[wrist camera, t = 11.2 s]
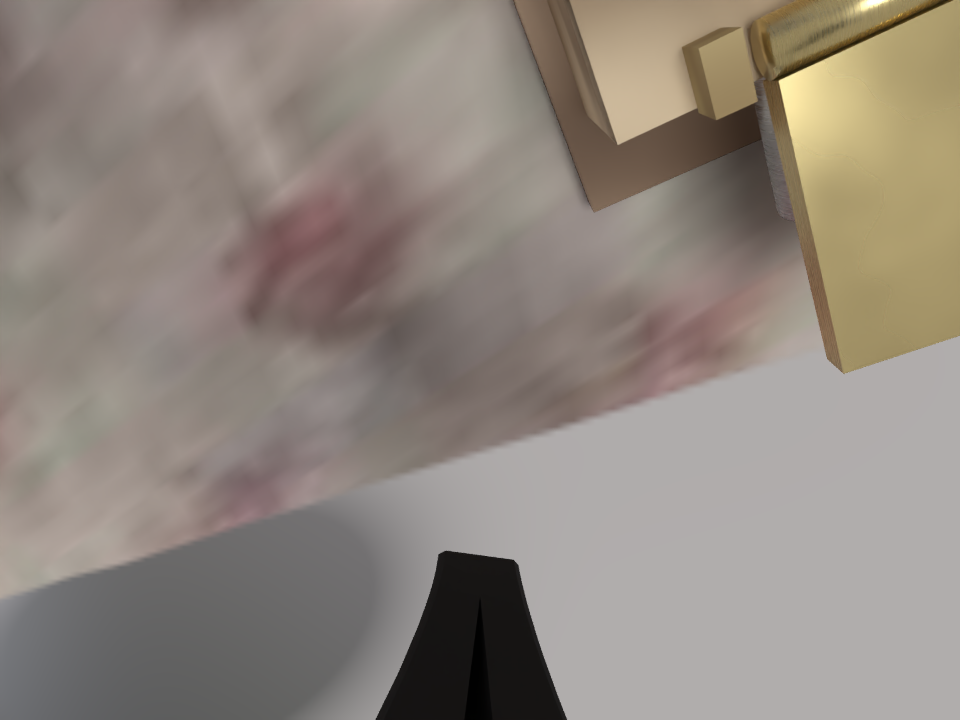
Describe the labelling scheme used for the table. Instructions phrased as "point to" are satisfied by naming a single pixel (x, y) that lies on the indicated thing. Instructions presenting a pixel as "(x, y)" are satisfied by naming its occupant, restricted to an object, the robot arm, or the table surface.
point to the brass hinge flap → (870, 165)
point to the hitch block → (646, 84)
